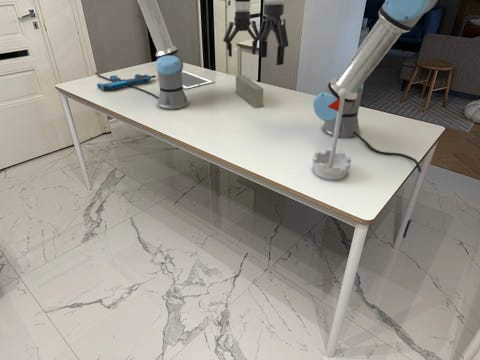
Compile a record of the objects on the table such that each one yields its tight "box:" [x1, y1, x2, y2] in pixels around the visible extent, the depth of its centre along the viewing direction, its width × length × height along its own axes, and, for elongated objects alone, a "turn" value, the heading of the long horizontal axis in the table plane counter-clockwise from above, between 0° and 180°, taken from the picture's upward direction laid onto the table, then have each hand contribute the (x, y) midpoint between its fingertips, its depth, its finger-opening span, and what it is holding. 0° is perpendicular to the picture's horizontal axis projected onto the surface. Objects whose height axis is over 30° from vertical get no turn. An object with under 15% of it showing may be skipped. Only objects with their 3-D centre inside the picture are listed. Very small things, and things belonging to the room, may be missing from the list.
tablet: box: [182, 70, 214, 90], centre depth 213 cm, size 32×20×1 cm, turn 41°
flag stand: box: [312, 88, 352, 181], centre depth 113 cm, size 13×13×30 cm
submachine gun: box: [96, 73, 157, 92], centre depth 207 cm, size 34×4×25 cm
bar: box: [235, 74, 264, 108], centre depth 182 cm, size 26×5×9 cm, turn 22°
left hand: (242, 55), depth 180 cm, fingers open, 13 cm apart
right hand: (271, 60), depth 141 cm, fingers open, 13 cm apart
